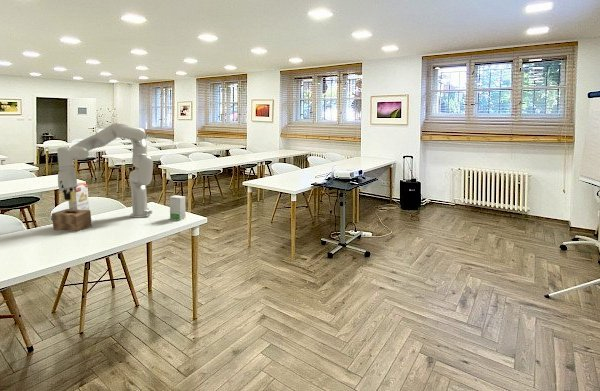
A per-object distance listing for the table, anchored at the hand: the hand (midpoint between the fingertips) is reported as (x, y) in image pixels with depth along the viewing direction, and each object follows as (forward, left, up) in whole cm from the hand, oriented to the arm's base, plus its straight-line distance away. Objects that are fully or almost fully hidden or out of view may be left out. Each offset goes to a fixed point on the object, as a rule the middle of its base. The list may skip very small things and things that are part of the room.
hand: (69, 198), depth 223 cm
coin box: (0, 0, -18) cm, 18 cm away
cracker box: (+18, -28, -18) cm, 38 cm away
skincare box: (-51, -34, -18) cm, 64 cm away
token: (0, 0, -1) cm, 1 cm away
